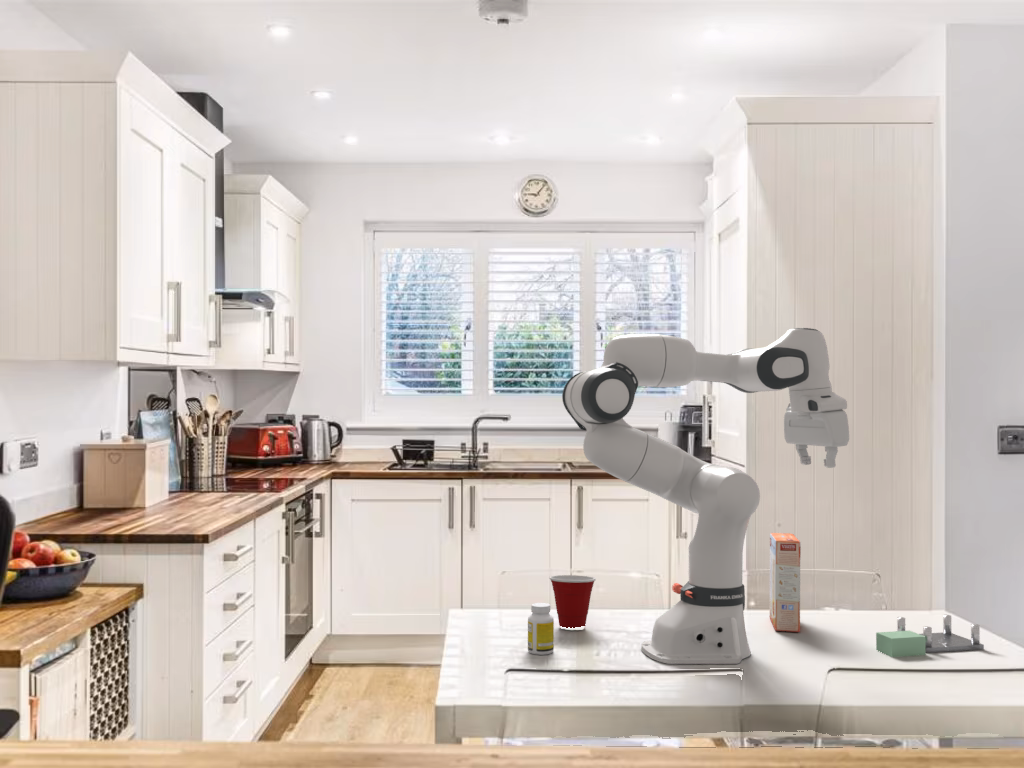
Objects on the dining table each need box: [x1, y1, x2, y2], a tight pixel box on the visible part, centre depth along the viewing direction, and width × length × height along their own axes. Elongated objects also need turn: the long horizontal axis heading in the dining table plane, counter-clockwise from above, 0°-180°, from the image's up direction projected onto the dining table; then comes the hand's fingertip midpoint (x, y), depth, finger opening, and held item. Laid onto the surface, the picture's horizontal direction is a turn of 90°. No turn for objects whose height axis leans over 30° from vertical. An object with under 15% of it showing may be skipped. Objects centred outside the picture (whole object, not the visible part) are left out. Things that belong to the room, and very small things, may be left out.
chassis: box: [896, 614, 985, 654], centre depth 190 cm, size 14×11×5 cm
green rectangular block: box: [875, 630, 926, 658], centre depth 184 cm, size 8×5×4 cm, turn 103°
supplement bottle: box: [527, 602, 555, 656], centre depth 183 cm, size 5×5×10 cm
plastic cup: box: [548, 574, 597, 628], centre depth 203 cm, size 11×11×12 cm
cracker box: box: [769, 532, 802, 633], centre depth 207 cm, size 14×6×21 cm, turn 168°
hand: (817, 465), depth 189 cm, fingers open, 8 cm apart
